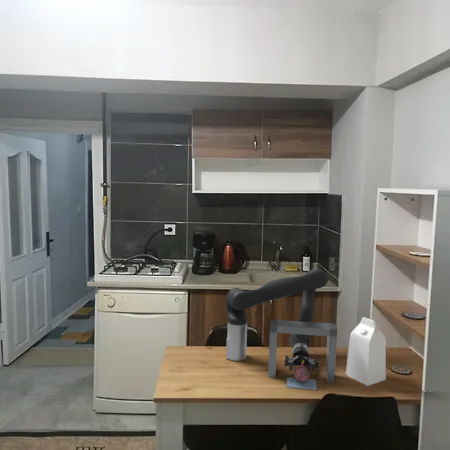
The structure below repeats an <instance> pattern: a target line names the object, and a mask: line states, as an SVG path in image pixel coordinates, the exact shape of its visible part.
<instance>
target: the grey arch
mask: <svg viewBox="0 0 450 450" xmlns="http://www.w3.org/2000/svg"><path fill="white" fill-rule="evenodd" d="M336 325H337V324H336V323H330V322H329V323H328V322H315V321H312V322H301V321H298V320H285V319H270V322H269V344H268V345H269V347H268V348H269V349H268V376H267V378H276V371H277V349H278V348H277V347H278V346H277V345H278V342H277V341H278V334H289V335H290V334H302V335H310V336H317V337H319V336H320V337H326V338H327V339H326V340H327V341H326V359H325V362H326V363H325V378H326V382H327V383H333V384H334V383H335V382H336V381H335V380H336V362H337V361H336V360H337V345H338V343H337V340H338V328H337V326H336Z"/></svg>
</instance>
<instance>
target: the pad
mask: <svg viewBox="0 0 450 450" xmlns="http://www.w3.org/2000/svg"><path fill="white" fill-rule="evenodd" d="M286 388H288V389H289V388H290V389H291V388H292V389H299V388H301V389H302V390H310V389H313V390H314V391H317V389H318V388H317V381H316V379H312V378H308V379H307V380H306V381H305V382H303V383H302V382H301V381H299V380H297V379H296V377H288V376H287V377H286ZM313 390H312V391H313Z"/></svg>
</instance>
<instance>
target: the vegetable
mask: <svg viewBox="0 0 450 450" xmlns="http://www.w3.org/2000/svg"><path fill="white" fill-rule="evenodd" d="M303 364H304V360H303V361H302V363H301V366H299V367H297V368H296V369H295V371H294V378H296V379H297V380H299V381H301V382H302V383H303V382H305V381H306V380H307V379H309V377H310V370H309V368H307V367H306V366H303Z"/></svg>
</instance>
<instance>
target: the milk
mask: <svg viewBox="0 0 450 450" xmlns="http://www.w3.org/2000/svg"><path fill="white" fill-rule="evenodd" d="M348 340H349V341H348V349H347V359H346V360H347V361H346V369H345V375H346V376H347V377H349V378H352V379H353V380H354V381H355V380H356V381H357V382H360V383H361V384H363V385H365V386H367V387H368V386H372V385H374V384H377V383H380V382H383V381H386V378H387V377H386V376H387V375H386V372H387V371H386V365H387V362H386V361H387V359H386V355H387V354H386V351H387V350H386V349H387V348H386V347H387V345H386V337H385V335H384V334H383V333H382V332H381V331H380V329H378V326H377V323H376V321H375V320H373V319H370V318H368V317H362V318H361V319H360V322H359V323H358V325H357V326H355V328H354V329H353V330H352V331H351V332H350V335H349V339H348Z"/></svg>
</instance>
